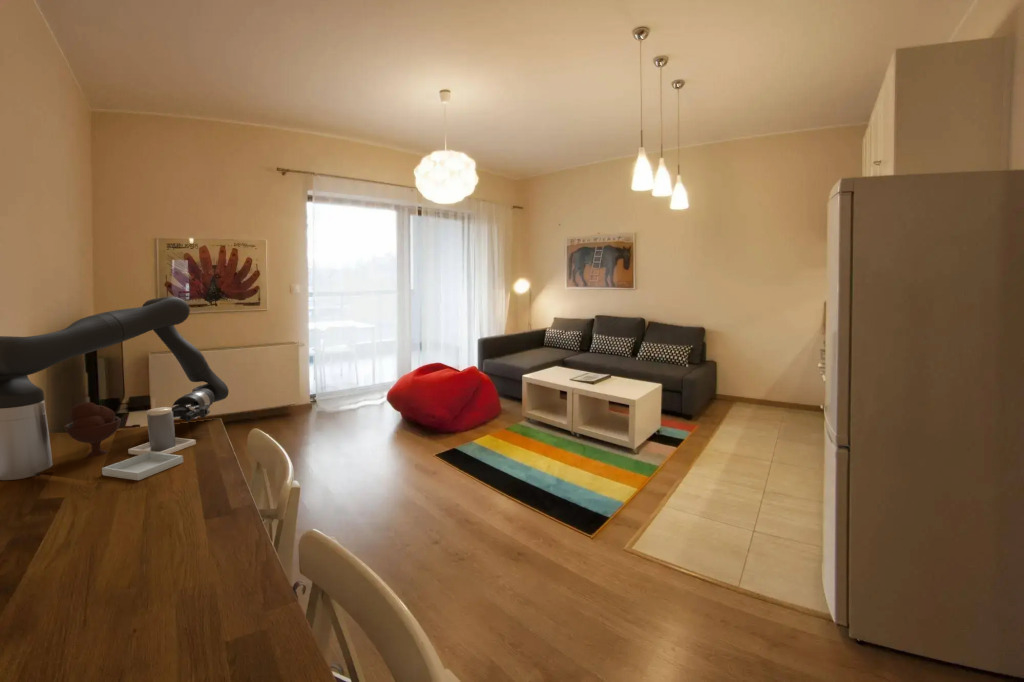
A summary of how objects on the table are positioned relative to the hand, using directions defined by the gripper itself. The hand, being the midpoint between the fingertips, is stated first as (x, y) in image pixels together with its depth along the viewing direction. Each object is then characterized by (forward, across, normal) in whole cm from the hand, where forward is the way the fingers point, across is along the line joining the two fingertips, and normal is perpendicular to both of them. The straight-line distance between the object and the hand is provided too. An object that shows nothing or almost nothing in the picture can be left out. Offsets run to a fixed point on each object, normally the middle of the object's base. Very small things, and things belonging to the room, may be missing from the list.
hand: (169, 419), depth 128 cm
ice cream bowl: (+5, -15, +8) cm, 18 cm away
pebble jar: (+5, 0, +7) cm, 8 cm away
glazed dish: (+20, +2, +8) cm, 21 cm away
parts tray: (+5, 0, +8) cm, 9 cm away
